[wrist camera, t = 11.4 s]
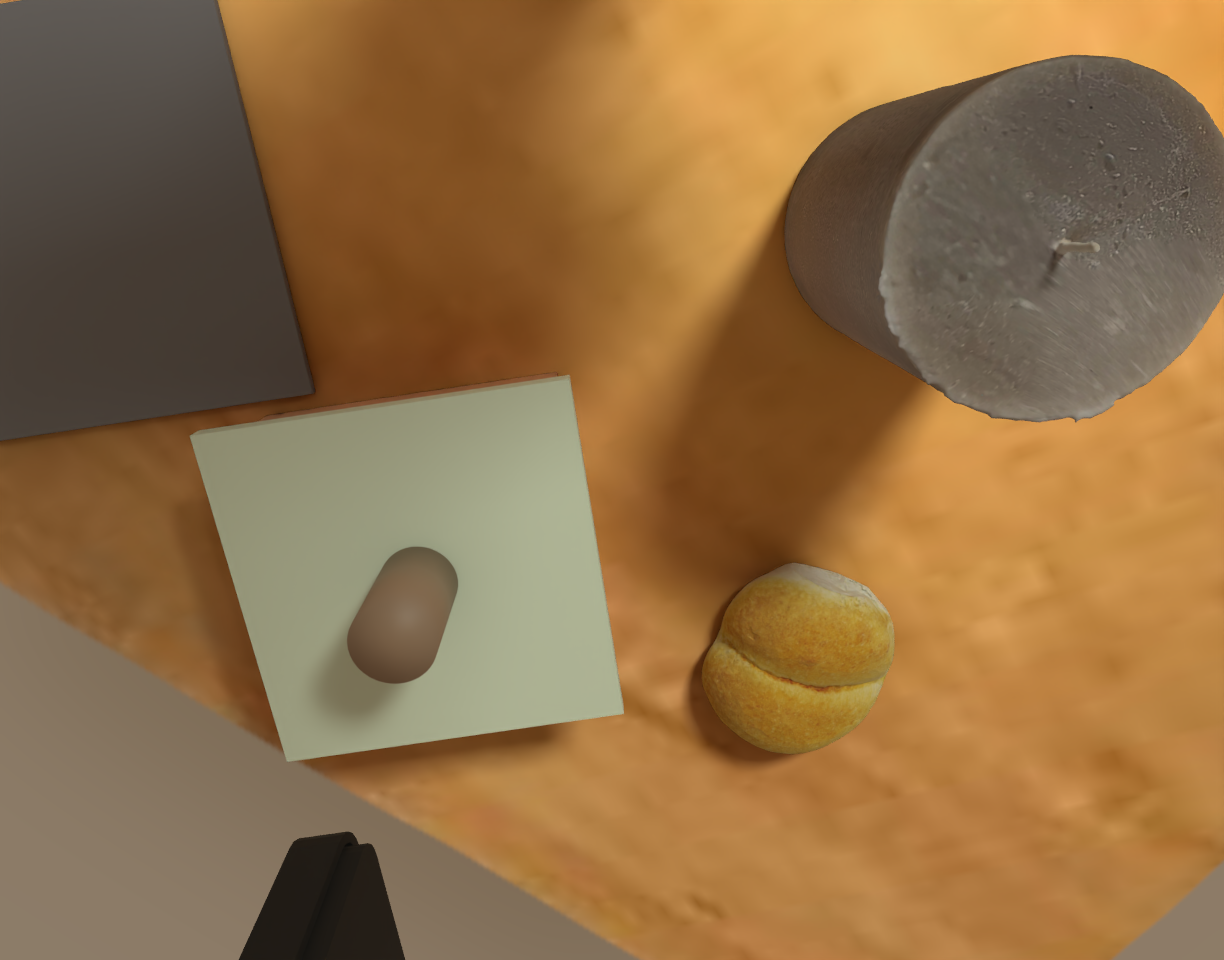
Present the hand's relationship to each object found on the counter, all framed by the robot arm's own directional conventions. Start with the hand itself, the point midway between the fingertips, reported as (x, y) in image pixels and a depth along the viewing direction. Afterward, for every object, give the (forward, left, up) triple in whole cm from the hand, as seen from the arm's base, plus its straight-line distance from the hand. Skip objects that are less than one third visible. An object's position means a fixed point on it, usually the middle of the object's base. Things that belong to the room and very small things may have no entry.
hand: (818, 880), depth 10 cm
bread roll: (+14, +5, -31) cm, 34 cm away
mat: (-9, -22, -30) cm, 39 cm away
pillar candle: (-4, +11, -31) cm, 33 cm away
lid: (+6, -10, -25) cm, 28 cm away
